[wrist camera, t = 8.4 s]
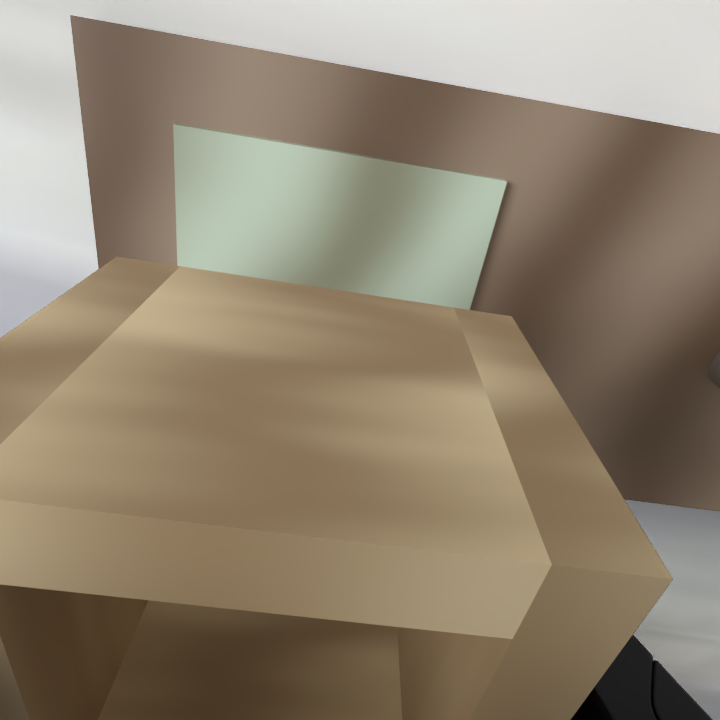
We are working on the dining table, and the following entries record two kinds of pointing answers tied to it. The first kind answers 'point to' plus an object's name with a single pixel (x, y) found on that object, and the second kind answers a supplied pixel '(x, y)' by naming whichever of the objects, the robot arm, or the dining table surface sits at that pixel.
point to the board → (433, 219)
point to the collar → (298, 511)
